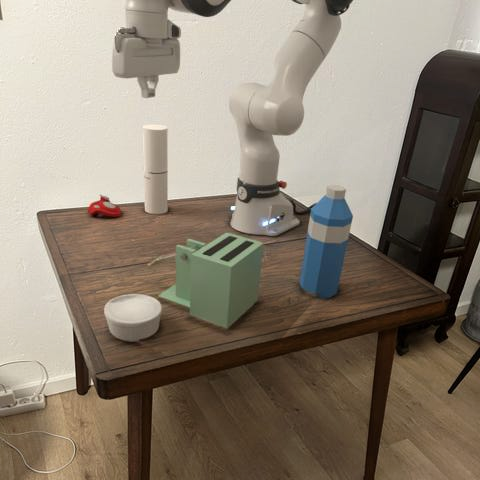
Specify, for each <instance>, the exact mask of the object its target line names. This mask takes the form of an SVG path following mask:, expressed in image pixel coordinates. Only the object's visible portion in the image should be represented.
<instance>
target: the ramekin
mask: <svg viewBox="0 0 480 480" xmlns="http://www.w3.org/2000/svg"><path fill="white" fill-rule="evenodd" d="M103 313H104V317H105V319H106V323H107V326H108V329H109V332H110V334H111V335H112V336H113V337H115V338H116V339H118V340H120V341H123V342H127V343H134V342H135V343H136V342H137V343H138V342H142V340H144V339H147V338H149V337H151V336H153V335H155V334H156V333H157V331H158V330H159V327H160V321H161V316H162V313H163V306H162V303H161V302H160V301H159V300H158V299H156V298H155V297H152V296H150V295H146V294H140V293H139V294H138V293H131V294H129V293H128V294H124V295H123V294H122V295H119V296H116V297H113V298H112V299H109V301H108V302H106V304H105V306H104V309H103Z"/></svg>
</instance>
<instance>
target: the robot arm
mask: <svg viewBox="0 0 480 480" xmlns="http://www.w3.org/2000/svg"><path fill="white" fill-rule="evenodd" d="M231 1H232V0H126V2H125V6H124V7H125V8H124V9H125V27H124V26H123V27H119V28H118V29H117V31H116V32H115V33H114V36H113V43H112V53H111V58H112V59H111V62H112V63H111V71H112V73H113V75H114V77H116V78H120V79H135V78H136V79H137V80H136V81H137V83H138V86H139V87H140V93H141V94H140V95H141V97H142V99H143V98H144V99H149V98H155V97H156V90H157V86H158V83H159V81H160V79H159V76H163V75H171V74H172V75H173V74H178V72H179V70H180V67H181V43H180V40H179V39H180V38H181V37H182V29H181V27H180V26H179V25H177V24H175V22H173V21H172V20H170V19H168V18H169V17H168V16H169V15H168V12H169V9H170V10H173V11H174V12H180V13H185V14H192V15H196V16H199V17H202V18H203V17H204V18H211V17H215V16H217V15H218V14H219V13H221V12H222V11H223V10H224V9H225V8H226V7H227V6H228V4H229V3H230V2H231ZM291 1H292V2H294V3H295V4H298V5H305V9H304V12H303V14H302V17H301V20H300V21H298V23H297V24H296V26H295V27H294V28H293V29H292V31H291V32H290V34H289V35H288V37H287V39H286V40H285V41H284V43H283V44H282V46H281V47H280V48H279V50H278V51H277V53H276V55H275V56H274V60H273V67H274V70H275V72H274V75H273V78H272V80H271V81H270V83H269V84H268V85H265V84H260V83H257V82H244V83H240V84H238V85H236V86H235V87H234V88H233V89H232V91H231V92H230V95H229V97H228V110H229V112H230V114H231V115H232V117H233V120H234V122H235V125H236V130H237V134H238V141H239V147H240V148H239V150H240V158H239V159H240V160H239V175H238V177H237V182H236V198H235V202H234V206H231V207H230V210H231V211H233V212H232V214H231V220H230V223H229V225H230V226H231V228H232V229H234V230H236V231H238V232H241V233H244V234H249V235H258V236H259V235H261V236H269V237H276V236H278V235H280V234H282V233H285V232H287V231H289V230H291V229H293V228H294V227H297V226H299V225H300V220H299V219H298V217H296V216H295V215H304V214H308V213H309V212H310V211H311V208H312V207H313V206H314V205H315V204H316V203H317V202H315V203H313V204H311V205H310V206H308V207H307V208H306V209H305V210H301V211H297V209H296V208H297V206H296V203H295V202H294V199H292V198H290V197H286V196H285V195H283V194H282V193H281V189H282V190H285V189H286V188H287V186H288V183H287V182H286V181H283V180H279V181H278V175H279V166H280V152H279V149H278V148H277V145H276V143H275V141H274V136H281V137H282V136H283V137H284V136H285V137H287V136H291V135H293V134H295V133H296V132H297V131H298V130H300V128H301V126H302V124H303V121H304V117H305V107H304V103H303V102H304V101H303V100H304V96H305V92H306V90H307V88H308V85H309V83H310V82H311V80H312V79H313V77H314V75H315V74H316V73H317V71H318V69H319V68H320V66H321V65H322V64H323V62H324V60H325V59H326V58H327V56H328V54H329V53H330V51H331V50H332V48H333V46H334V45H335V42H336V40H337V38H338V36H339V34H340V32H341V30H342V18H341V15H343V14H344V13H345V12H347V11H348V9H350V6H351V4H352V3H353V1H354V0H291ZM280 188H281V189H280ZM294 214H295V215H294Z"/></svg>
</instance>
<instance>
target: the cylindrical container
mask: <svg viewBox="0 0 480 480" xmlns="http://www.w3.org/2000/svg"><path fill="white" fill-rule="evenodd" d="M141 128H142V161H143V164H142V165H143V192H144V193H143V197H144V199H143V201H144V211H145V212H146V213H148V214H150V215H163V214H166V213H168V211H169V210H168V209H169V208H168V207H169V205H168V202H169V200H168V199H169V198H168V197H169V194H168V193H169V191H168V187H169V185H168V184H169V182H168V179H169V178H168V177H169V176H168V173H169V171H168V170H169V169H168V168H169V167H168V166H169V165H168V164H169V163H168V158H169V157H168V126H166V125H163V124H155V123H152V124H151V123H149V124H143V125H142V127H141Z"/></svg>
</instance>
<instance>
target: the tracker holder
mask: <svg viewBox="0 0 480 480" xmlns="http://www.w3.org/2000/svg"><path fill="white" fill-rule="evenodd" d="M99 196H100V198H99V200H96V201H93V202H91V203H90V204H89V206H88V208H87V212H88V214H89V215H90V217H91V216H92V217H94V216H95V215H97V214H100V215H102V216H103V215H104V216H107V217H111V218H118V217H121V215H122V209H121V208H120V207H119V206H118V205H116V204H115V203H113V202H111V200H110V198H109V197H108V196H106V195H102V194H99Z"/></svg>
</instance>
